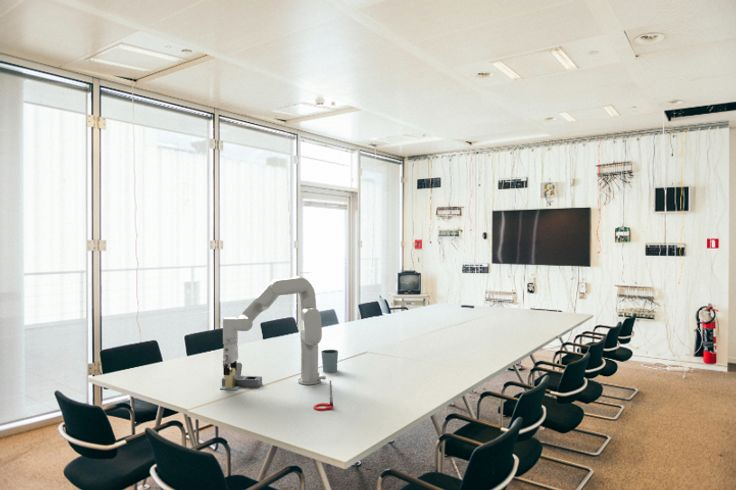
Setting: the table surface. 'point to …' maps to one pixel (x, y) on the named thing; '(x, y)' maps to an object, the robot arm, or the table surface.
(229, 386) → the brass peg
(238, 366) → the electrical switch
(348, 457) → the table surface
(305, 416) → the table surface
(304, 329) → the robot arm
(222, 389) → the rubber mat
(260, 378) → the rail
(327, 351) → the grey-green cup
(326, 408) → the tow hook
